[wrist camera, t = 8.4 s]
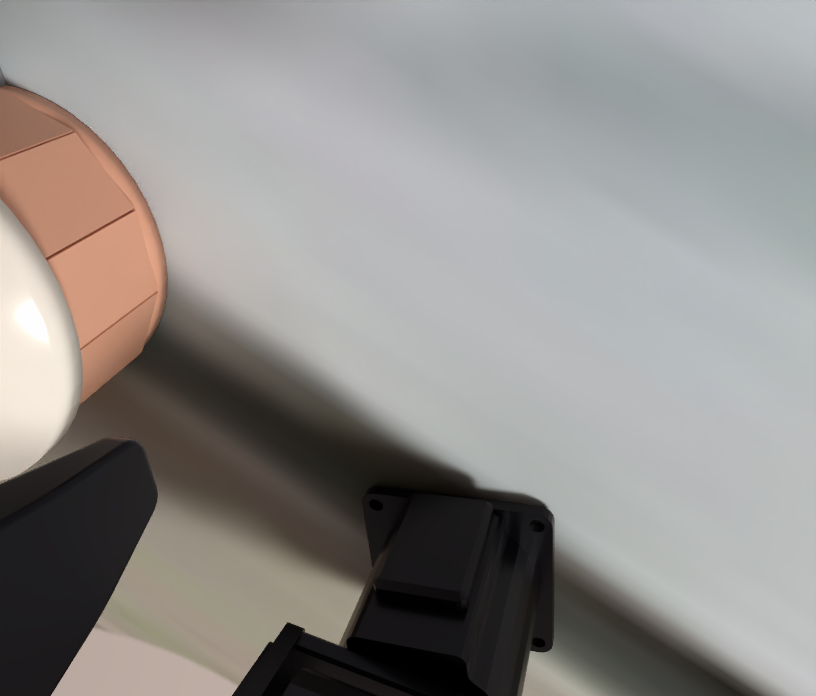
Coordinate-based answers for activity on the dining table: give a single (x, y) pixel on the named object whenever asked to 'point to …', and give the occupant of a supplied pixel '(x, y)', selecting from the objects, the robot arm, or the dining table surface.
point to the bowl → (84, 229)
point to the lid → (33, 352)
